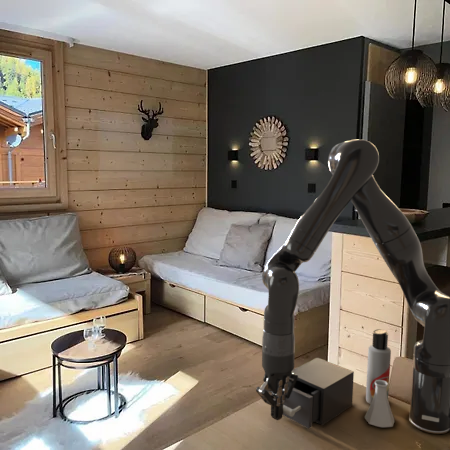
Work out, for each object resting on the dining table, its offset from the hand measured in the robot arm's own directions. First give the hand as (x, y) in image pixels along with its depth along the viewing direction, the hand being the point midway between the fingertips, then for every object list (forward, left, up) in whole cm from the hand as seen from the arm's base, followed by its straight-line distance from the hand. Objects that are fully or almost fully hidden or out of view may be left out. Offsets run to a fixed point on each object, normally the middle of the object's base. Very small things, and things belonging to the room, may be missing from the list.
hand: (276, 417), depth 107 cm
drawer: (-7, -7, -3) cm, 10 cm away
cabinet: (-12, -13, -4) cm, 18 cm away
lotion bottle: (-28, -16, -4) cm, 32 cm away
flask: (-26, -7, -4) cm, 27 cm away
